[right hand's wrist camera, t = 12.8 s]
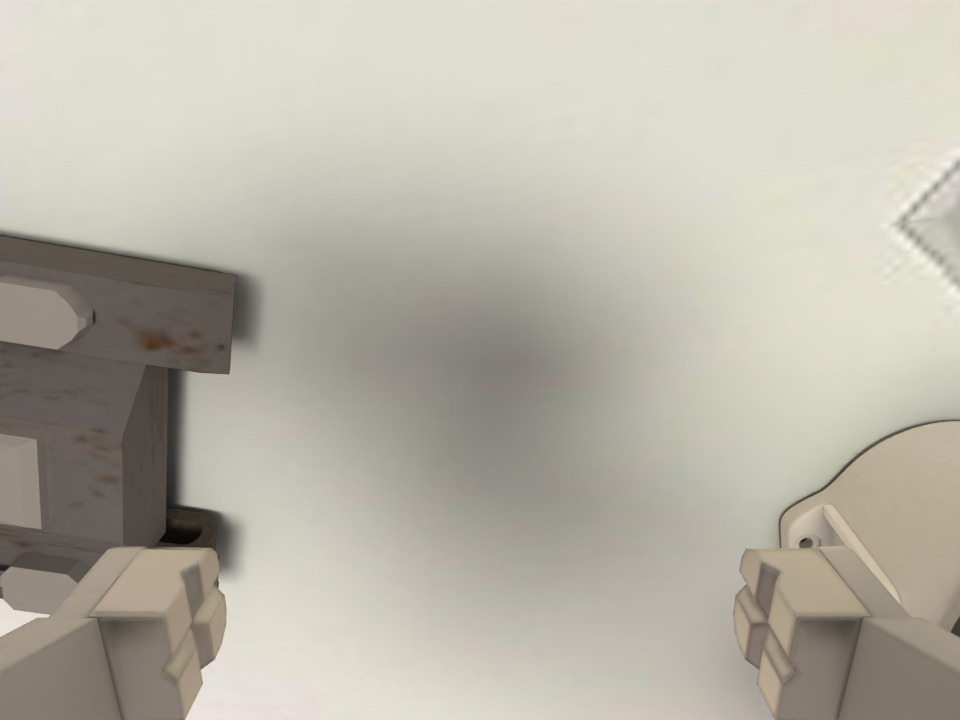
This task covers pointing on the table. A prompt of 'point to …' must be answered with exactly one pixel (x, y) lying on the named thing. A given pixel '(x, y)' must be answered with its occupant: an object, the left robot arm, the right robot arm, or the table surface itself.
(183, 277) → the toy
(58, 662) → the right robot arm
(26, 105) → the table surface
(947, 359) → the table surface
